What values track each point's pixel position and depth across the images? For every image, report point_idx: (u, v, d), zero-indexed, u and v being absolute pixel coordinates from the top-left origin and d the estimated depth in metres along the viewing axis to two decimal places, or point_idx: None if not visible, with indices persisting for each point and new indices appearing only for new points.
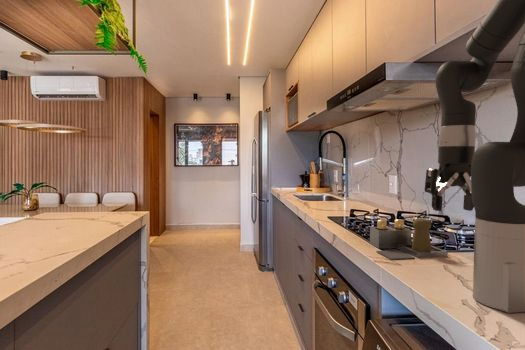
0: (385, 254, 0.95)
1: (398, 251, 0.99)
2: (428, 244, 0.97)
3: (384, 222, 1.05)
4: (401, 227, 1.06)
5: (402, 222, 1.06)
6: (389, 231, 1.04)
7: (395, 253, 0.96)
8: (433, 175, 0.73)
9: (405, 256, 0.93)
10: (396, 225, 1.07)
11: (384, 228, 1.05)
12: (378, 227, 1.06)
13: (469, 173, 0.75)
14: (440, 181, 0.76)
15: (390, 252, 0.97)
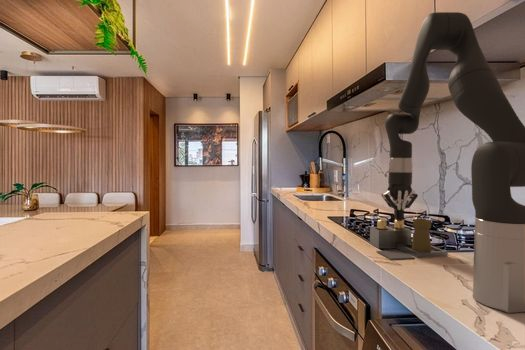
0: (385, 254, 0.95)
1: (398, 251, 0.99)
2: (428, 244, 0.97)
3: (384, 222, 1.05)
4: (401, 227, 1.06)
5: (402, 222, 1.06)
6: (389, 231, 1.04)
7: (395, 253, 0.96)
8: (387, 198, 1.05)
9: (405, 256, 0.93)
10: (396, 225, 1.07)
11: (384, 228, 1.05)
12: (378, 227, 1.06)
13: (409, 190, 1.06)
14: None
15: (390, 252, 0.97)
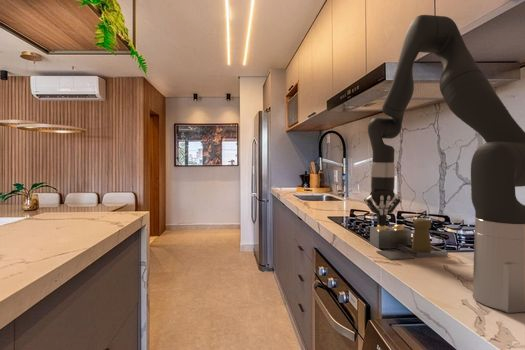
0: (385, 254, 0.95)
1: (398, 251, 0.99)
2: (428, 244, 0.97)
3: (384, 227, 1.05)
4: None
5: (402, 227, 1.06)
6: (389, 231, 1.04)
7: (395, 253, 0.96)
8: (369, 204, 1.04)
9: (405, 256, 0.93)
10: None
11: None
12: None
13: (391, 195, 1.06)
14: None
15: (390, 252, 0.97)
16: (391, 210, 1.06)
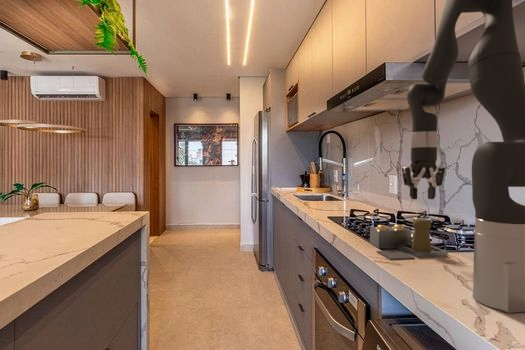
0: (385, 254, 0.95)
1: (398, 251, 0.99)
2: (428, 244, 0.97)
3: (384, 228, 1.05)
4: None
5: (402, 227, 1.06)
6: (389, 231, 1.04)
7: (395, 253, 0.96)
8: (407, 172, 0.96)
9: (405, 256, 0.93)
10: None
11: None
12: None
13: (434, 168, 0.97)
14: (414, 175, 0.99)
15: (390, 252, 0.97)
16: (440, 182, 0.98)
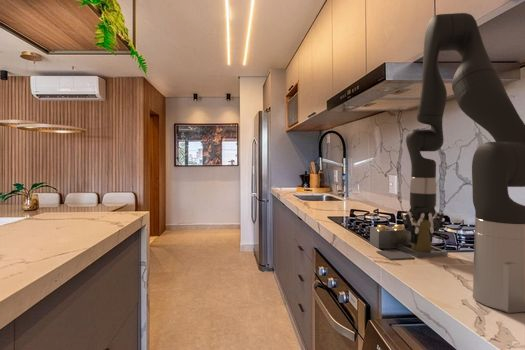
0: (385, 254, 0.95)
1: (398, 251, 0.99)
2: (428, 244, 0.97)
3: (384, 228, 1.05)
4: None
5: (402, 227, 1.06)
6: (389, 231, 1.04)
7: (395, 253, 0.96)
8: (407, 219, 0.97)
9: (405, 256, 0.93)
10: None
11: None
12: None
13: (432, 213, 0.98)
14: (414, 220, 1.00)
15: (390, 252, 0.97)
16: (437, 228, 0.98)
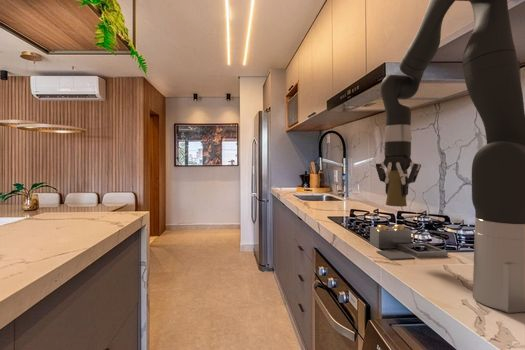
0: (385, 254, 0.95)
1: (398, 251, 0.99)
2: (394, 195, 0.93)
3: (384, 228, 1.05)
4: None
5: (402, 227, 1.06)
6: (389, 231, 1.04)
7: (395, 253, 0.96)
8: (377, 168, 0.99)
9: (405, 256, 0.93)
10: None
11: None
12: None
13: (404, 163, 0.92)
14: None
15: (390, 252, 0.97)
16: (409, 179, 0.90)
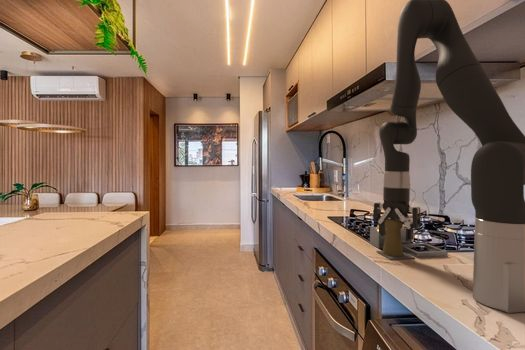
0: None
1: None
2: (391, 245, 0.94)
3: None
4: None
5: (402, 227, 1.06)
6: None
7: None
8: (374, 207, 1.00)
9: (405, 256, 0.93)
10: None
11: None
12: None
13: (403, 209, 0.92)
14: None
15: None
16: (414, 224, 0.89)
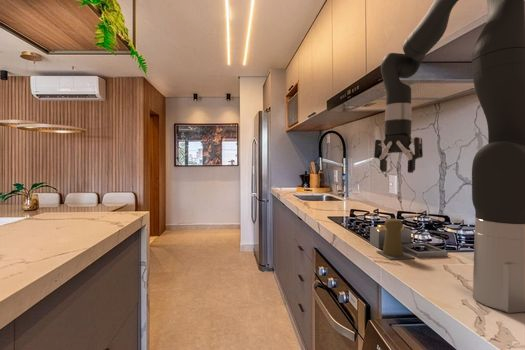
0: None
1: None
2: (391, 245, 0.94)
3: (384, 228, 1.05)
4: None
5: (402, 227, 1.06)
6: None
7: None
8: (375, 144, 0.99)
9: (405, 256, 0.93)
10: None
11: None
12: None
13: (405, 141, 0.91)
14: None
15: None
16: (416, 154, 0.89)
